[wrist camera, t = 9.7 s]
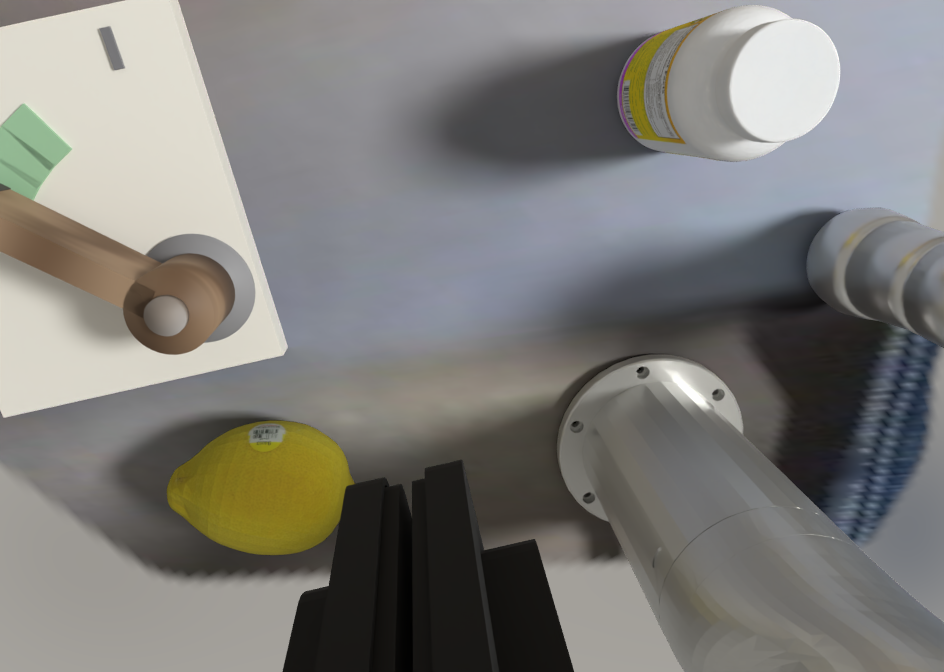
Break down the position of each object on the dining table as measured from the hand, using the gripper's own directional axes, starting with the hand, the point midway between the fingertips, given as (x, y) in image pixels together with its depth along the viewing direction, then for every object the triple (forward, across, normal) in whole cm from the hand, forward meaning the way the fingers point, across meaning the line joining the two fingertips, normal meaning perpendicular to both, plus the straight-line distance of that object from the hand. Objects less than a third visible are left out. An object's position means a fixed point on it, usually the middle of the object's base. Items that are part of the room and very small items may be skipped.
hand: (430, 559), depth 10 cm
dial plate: (+32, +18, -4) cm, 37 cm away
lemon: (+32, +12, +13) cm, 37 cm away
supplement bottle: (+32, -16, -4) cm, 36 cm away
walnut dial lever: (+30, +16, -2) cm, 34 cm away
